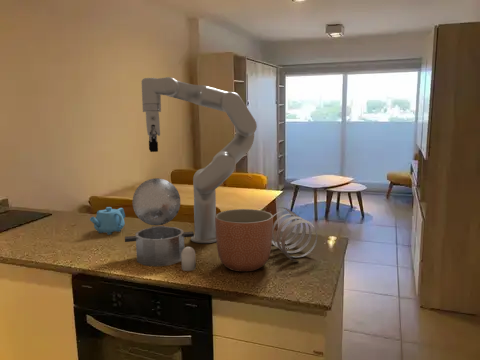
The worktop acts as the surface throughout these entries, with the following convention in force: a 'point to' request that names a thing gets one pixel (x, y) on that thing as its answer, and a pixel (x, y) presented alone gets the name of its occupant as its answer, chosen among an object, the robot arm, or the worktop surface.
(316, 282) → the worktop surface
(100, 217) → the teapot
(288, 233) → the spring
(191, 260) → the salt cellar
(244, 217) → the planter
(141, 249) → the pot
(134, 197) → the lid
